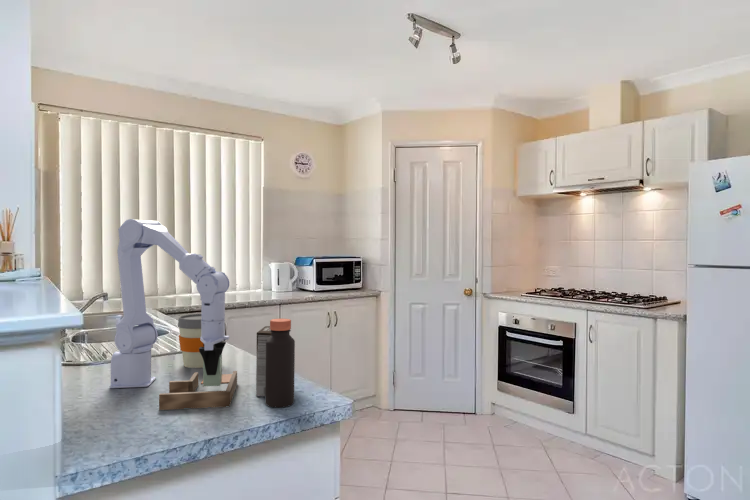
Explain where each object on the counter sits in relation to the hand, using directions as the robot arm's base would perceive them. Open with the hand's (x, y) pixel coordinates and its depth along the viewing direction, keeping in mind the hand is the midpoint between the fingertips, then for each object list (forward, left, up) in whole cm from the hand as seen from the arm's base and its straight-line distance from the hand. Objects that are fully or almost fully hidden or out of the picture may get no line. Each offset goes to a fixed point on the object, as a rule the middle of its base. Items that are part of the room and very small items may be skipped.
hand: (212, 372), depth 125 cm
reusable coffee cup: (-8, +29, -5) cm, 30 cm away
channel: (-2, -3, -5) cm, 6 cm away
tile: (0, +11, -5) cm, 12 cm away
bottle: (+17, -12, -5) cm, 22 cm away
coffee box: (+15, -2, -5) cm, 16 cm away
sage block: (0, 0, -3) cm, 3 cm away
